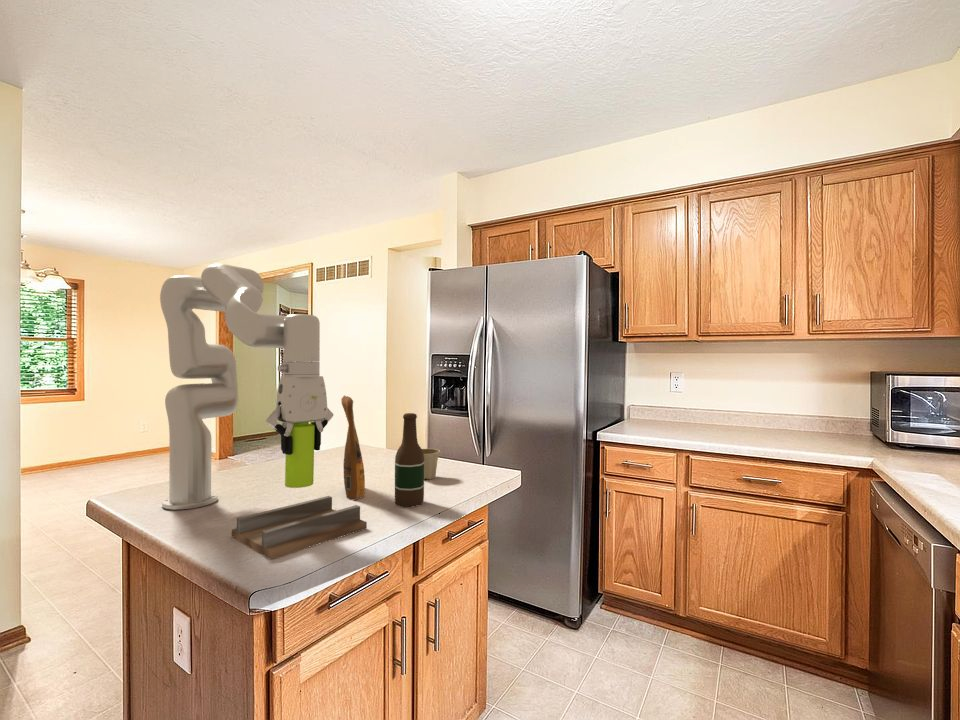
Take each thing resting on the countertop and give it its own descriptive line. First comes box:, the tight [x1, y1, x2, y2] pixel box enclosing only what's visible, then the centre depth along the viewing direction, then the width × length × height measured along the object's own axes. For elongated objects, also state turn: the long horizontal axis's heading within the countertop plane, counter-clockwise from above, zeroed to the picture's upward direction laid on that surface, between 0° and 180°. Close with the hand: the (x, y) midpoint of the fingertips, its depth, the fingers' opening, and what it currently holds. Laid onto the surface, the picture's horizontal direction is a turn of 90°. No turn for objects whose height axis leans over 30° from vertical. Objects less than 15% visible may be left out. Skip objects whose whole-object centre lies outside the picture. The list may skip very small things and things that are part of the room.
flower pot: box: [421, 448, 441, 481], centre depth 154 cm, size 9×9×9 cm
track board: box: [231, 495, 368, 560], centre depth 104 cm, size 18×22×4 cm
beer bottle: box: [394, 412, 425, 508], centre depth 126 cm, size 8×8×24 cm
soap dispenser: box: [284, 396, 316, 489], centre depth 104 cm, size 6×7×20 cm
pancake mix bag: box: [340, 394, 366, 501], centre depth 136 cm, size 7×19×28 cm, turn 16°
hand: (301, 450), depth 104 cm, fingers closed on soap dispenser, 5 cm apart
